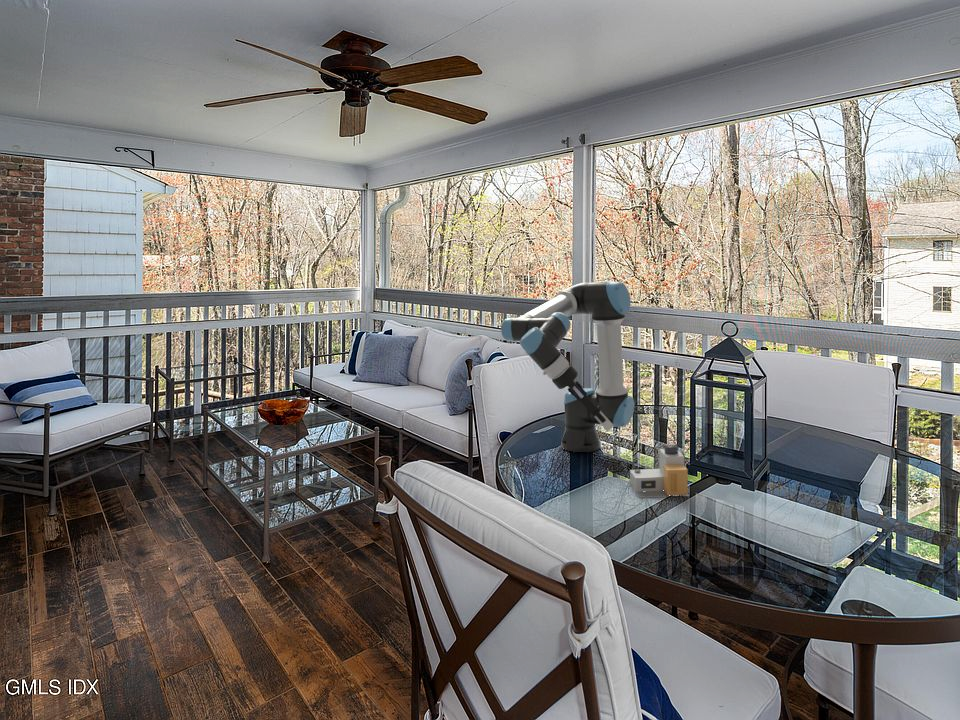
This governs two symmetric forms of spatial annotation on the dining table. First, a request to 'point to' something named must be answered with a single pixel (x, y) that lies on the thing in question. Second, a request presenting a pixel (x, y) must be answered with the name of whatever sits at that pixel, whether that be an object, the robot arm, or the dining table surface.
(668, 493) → the orange wooden block
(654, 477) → the white small appliance
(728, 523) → the dining table surface
